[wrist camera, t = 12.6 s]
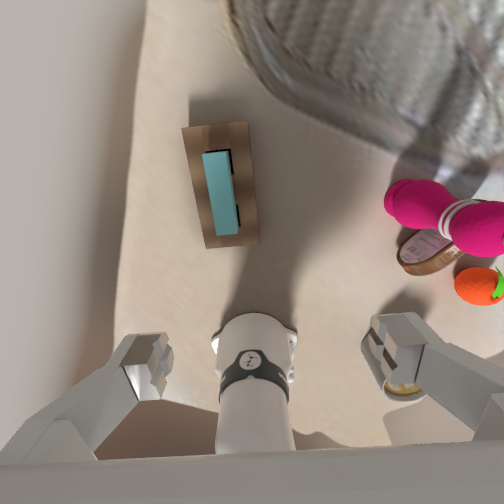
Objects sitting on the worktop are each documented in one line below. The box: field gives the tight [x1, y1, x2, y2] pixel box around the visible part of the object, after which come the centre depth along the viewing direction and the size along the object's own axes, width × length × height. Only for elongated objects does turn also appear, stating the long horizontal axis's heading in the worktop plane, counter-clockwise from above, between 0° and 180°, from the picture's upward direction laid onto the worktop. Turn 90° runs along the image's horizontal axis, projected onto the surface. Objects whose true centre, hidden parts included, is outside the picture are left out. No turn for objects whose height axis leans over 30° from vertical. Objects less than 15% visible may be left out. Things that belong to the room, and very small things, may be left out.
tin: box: [397, 199, 487, 276], centre depth 39 cm, size 15×3×8 cm, turn 138°
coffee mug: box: [361, 334, 427, 402], centre depth 48 cm, size 13×10×10 cm
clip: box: [202, 151, 238, 236], centre depth 36 cm, size 11×3×8 cm, turn 6°
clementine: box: [454, 267, 504, 306], centre depth 43 cm, size 8×7×7 cm
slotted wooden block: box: [181, 120, 260, 249], centre depth 38 cm, size 18×9×4 cm, turn 6°
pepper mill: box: [384, 179, 504, 257], centre depth 31 cm, size 7×7×20 cm
